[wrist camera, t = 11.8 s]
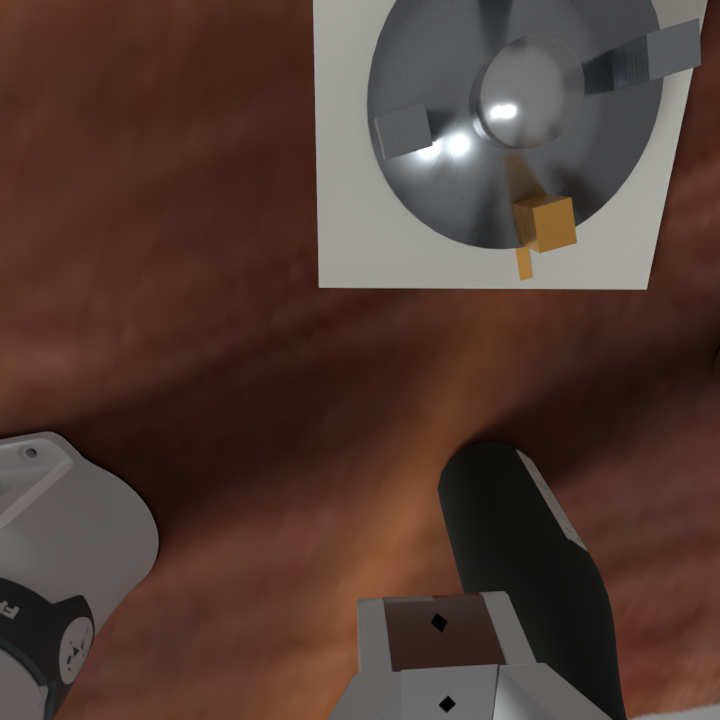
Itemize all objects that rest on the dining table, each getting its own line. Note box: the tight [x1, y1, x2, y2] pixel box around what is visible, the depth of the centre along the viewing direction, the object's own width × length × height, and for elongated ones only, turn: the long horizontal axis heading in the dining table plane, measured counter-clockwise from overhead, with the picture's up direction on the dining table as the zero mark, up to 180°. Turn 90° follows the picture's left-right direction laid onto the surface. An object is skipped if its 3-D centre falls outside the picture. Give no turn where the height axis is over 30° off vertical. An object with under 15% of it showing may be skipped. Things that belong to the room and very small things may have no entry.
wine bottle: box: [438, 442, 627, 720], centre depth 27 cm, size 8×8×30 cm
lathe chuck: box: [366, 0, 701, 253], centre depth 27 cm, size 16×16×6 cm
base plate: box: [313, 0, 708, 289], centre depth 31 cm, size 22×22×2 cm
